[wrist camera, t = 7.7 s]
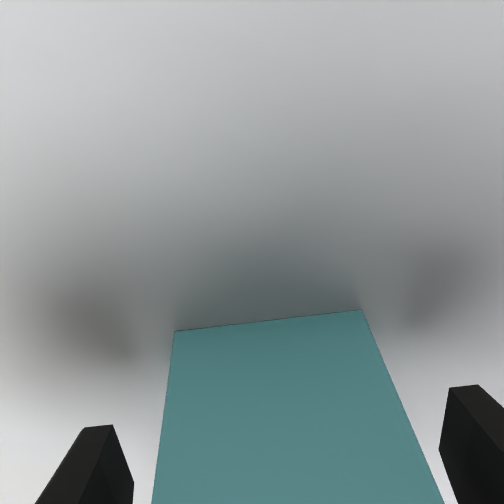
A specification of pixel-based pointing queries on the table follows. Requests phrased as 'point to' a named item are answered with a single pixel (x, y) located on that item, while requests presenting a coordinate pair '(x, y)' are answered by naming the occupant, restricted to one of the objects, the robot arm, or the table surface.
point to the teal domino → (287, 418)
